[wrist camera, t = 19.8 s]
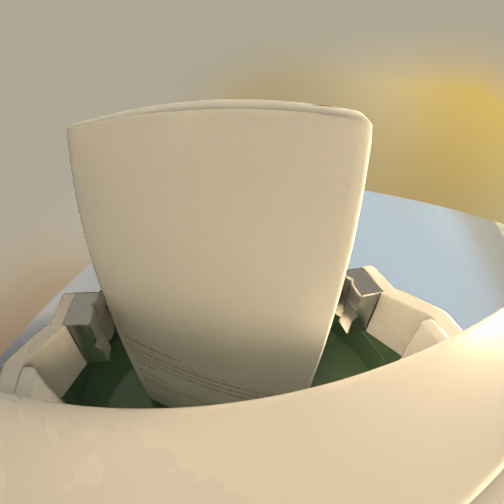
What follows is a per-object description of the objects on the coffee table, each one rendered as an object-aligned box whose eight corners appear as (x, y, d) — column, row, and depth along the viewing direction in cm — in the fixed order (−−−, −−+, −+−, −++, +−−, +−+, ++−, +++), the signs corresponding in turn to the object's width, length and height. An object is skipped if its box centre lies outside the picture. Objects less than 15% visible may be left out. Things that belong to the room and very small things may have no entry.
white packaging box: (316, 338, 16) (359, 112, 9) (285, 449, 10) (383, 110, 3) (204, 310, 18) (194, 102, 11) (143, 397, 12) (58, 120, 5)
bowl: (48, 516, 4) (-5, 497, 2) (120, 296, 19) (107, 252, 17) (418, 523, 5) (472, 507, 3) (345, 299, 20) (357, 254, 18)
